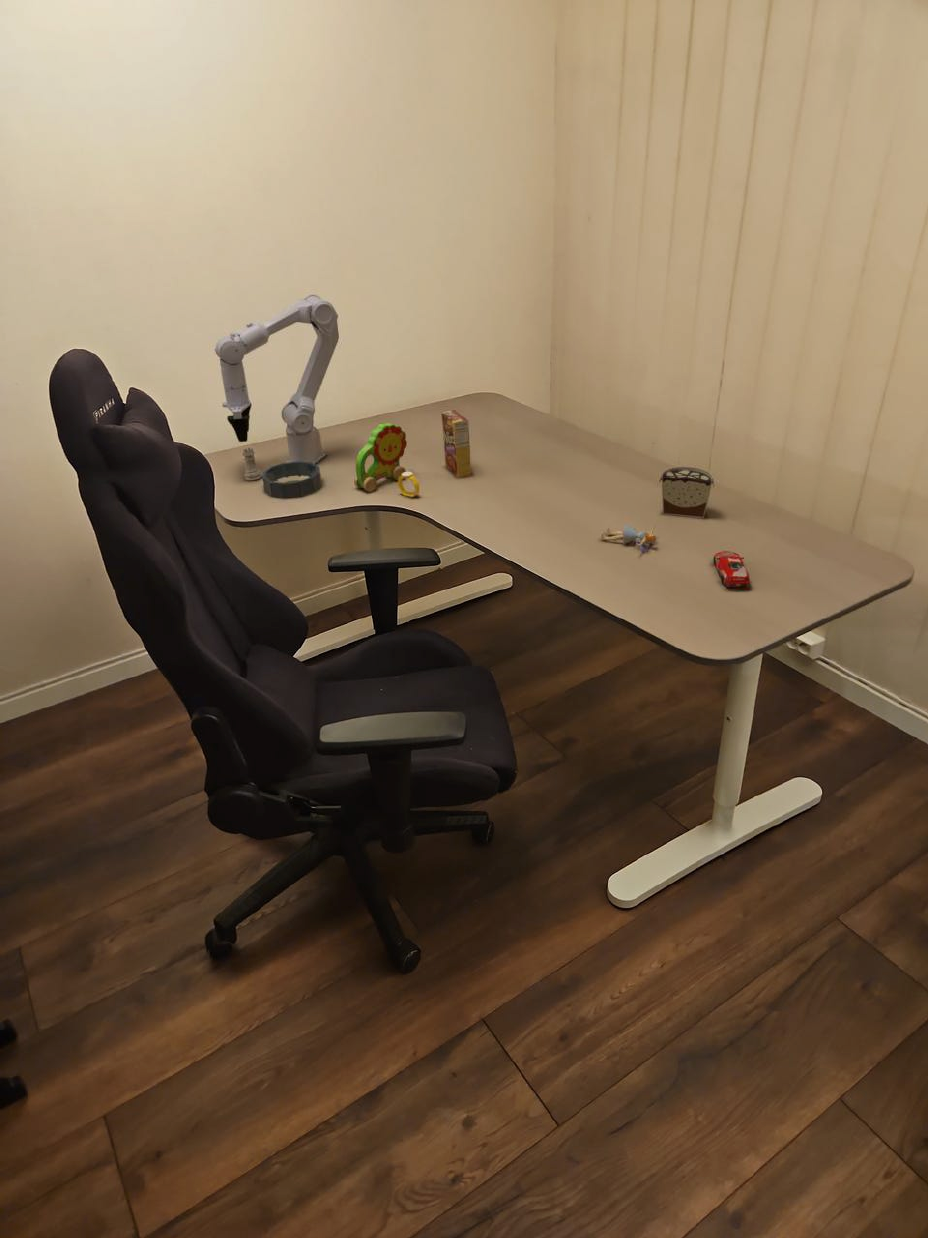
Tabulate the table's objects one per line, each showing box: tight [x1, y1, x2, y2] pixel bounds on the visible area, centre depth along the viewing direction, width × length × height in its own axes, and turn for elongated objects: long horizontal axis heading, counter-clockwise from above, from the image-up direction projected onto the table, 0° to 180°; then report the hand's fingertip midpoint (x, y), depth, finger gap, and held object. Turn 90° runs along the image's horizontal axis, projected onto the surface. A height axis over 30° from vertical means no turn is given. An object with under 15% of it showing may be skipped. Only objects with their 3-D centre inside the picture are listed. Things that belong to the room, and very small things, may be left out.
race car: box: [713, 550, 750, 588], centre depth 181 cm, size 13×5×4 cm, turn 177°
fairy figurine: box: [600, 524, 657, 553], centre depth 195 cm, size 12×5×12 cm
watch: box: [397, 471, 420, 498], centre depth 221 cm, size 6×3×6 cm, turn 53°
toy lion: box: [353, 422, 408, 493], centre depth 227 cm, size 16×5×15 cm, turn 135°
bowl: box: [261, 461, 322, 499], centre depth 230 cm, size 15×15×4 cm
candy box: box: [441, 409, 472, 479], centre depth 231 cm, size 9×4×15 cm, turn 23°
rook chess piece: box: [242, 447, 262, 482], centre depth 235 cm, size 4×4×8 cm
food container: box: [659, 466, 715, 519], centre depth 206 cm, size 12×6×10 cm, turn 71°
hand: (243, 436), depth 234 cm, fingers open, 7 cm apart
